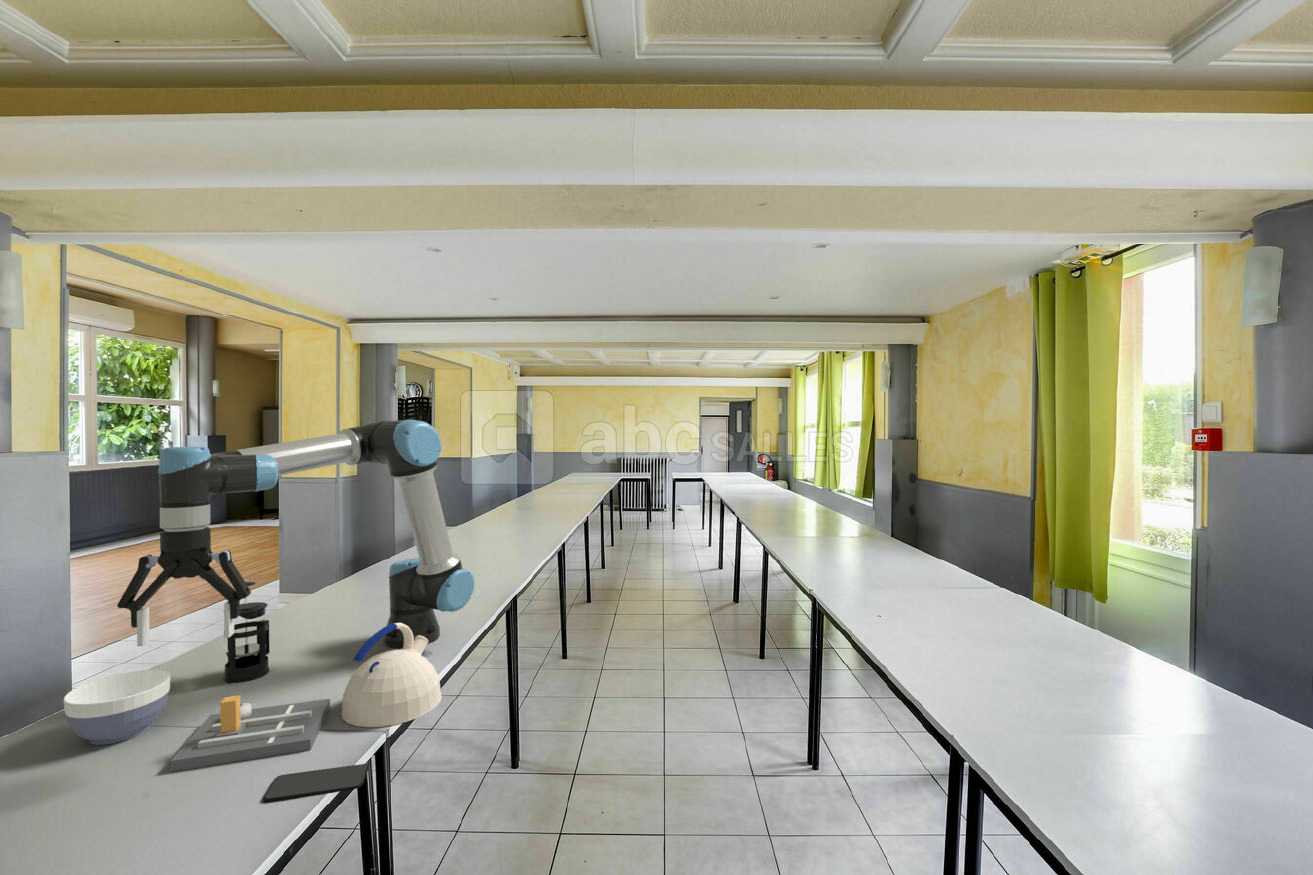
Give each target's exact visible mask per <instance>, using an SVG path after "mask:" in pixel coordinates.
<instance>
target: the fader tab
mask: <svg viewBox="0 0 1313 875" xmlns="http://www.w3.org/2000/svg"><path fill="white" fill-rule="evenodd" d="M219 703H220V704H219V706H220V709H219V710H220V713H219V714H220V716H221V730H220V731H219V732H218V733H217V735H216V736H215V737H216V738H219V737H226V736H232V735H239V734H241V733H242V732H243V731H244V729H245V728H246V722H242V723H241V711H240V704H241V695H240V694H239V695H233V696H225V697H224V698H223V699H222V700H221V701H220V702H219Z"/></svg>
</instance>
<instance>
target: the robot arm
mask: <svg viewBox="0 0 1313 875" xmlns="http://www.w3.org/2000/svg"><path fill="white" fill-rule="evenodd" d="M441 451H442V439H441V436H440V434H439V432H438V431H437V429H435V427H433V425H431V424H429V423H427V422H426V421H422V420H417V419H403V420H401V419H399V420H381V421H380V420H379V421H374V422H372V423H366V424H364V425H359V426H355V427H348V428H343V429H341V430H340V431H339V432H338V433H337V434H331V435H324V436H323V435H322V436H317V437H310V438H306V439H304V438H303V439H298V440H291V441H286V442H285V441H284V442H279V443H278V442H277V443H272V444H266V445H260V446H253V447H248V448H241V449H235V450H230V451H229V450H228V451H224V452H223V451H222V452H216V453H215V452H214V453H211V451H210V449H209V447H206V446H171V447H164V448H163V449H162V450H161V451H160V454H159V459H158V462H159V463H158V470H157V472H158V483H159V484H158V487H159V528H160V529H162V531H161V532H160V533H159V550H160V555H159V556H156V555H152V554H146V555H144V556H141V557H140V558H139V559H138V565H137V570H136V572H135V573H134V574H133V576H132V579H131V580H130V582H129V584H128V586H127V587H126V589H125V591H124V592H123V594H122V596H121V598H120V599H119V601H118V603H117V608H118V609H127V610H129V611H130V626H131V628H132V629H135V628H136V636H137V637H136V641H137V642H136V646H137V647H143V646H145V645H146V644H148V643H149V642H150V641H151V640H150V638H151V636H150V606H146V604H147V603H148V602H149V601H150V599H151V598H152V597H153V596H154V595H155V594H156V593H157V592H158V591H159V590H160V589H161V588H162V587H163V586H164V585H165V584H166V583H167V581H169V579H171V578H173V579H174V580H175V579H182V578H186V579H187V578H188V579H191V578H196V577H198V576H199V578H201V579H202V580H205V581H206V582H207V583H208V584H209V585H210V586H211V587H212V588H214V590H216V591H217V593H219V594H220V595H221V596H222V597H223V598H224V599H225V600H227V601H226V602H225V603H224V604H223V618H224V619H223V623H224V624H223V625H224V627H223V628H224V629H223V638H224V639H227V638H229V637H230V636H232V635H233V634H234V633H235V630H234V625H235V619H237V618H239V617H240V616H239V614H240V604H241V602H240V601H241V600H245V598H246V597H247V598H248V596H250V595H251V594H252V591H251V589H250V588H249V587H250V586H247V584H246V583H245V582H246V581H245V580H244V578H243V576H242V575H241V573H240V571H239V569H238V568H237V566H235V563H234V562H233V558H232V552H231V550H229V549H225V550H224V551H220V552H215V553H213V552H212V548H211V546H212V542H211V540H212V538H211V537H212V535H211V534H212V533H211V530H212V529H211V528H210V527H208V525H210V524H211V495H219V494H233V493H246V492H249V493H250V492H260V491H266V490H267V491H268V490H270V489H273V488H274V487H275V486H276V484H277V482H278V480H279V476H280V477H281V476H285V475H289V474H293V473H300V472H304V471H305V472H306V471H310V470H315V469H319V468H326V467H330V466H331V467H332V466H335V465H339V464H341V465H342V464H345V465H348V466H354V465H359V464H361V465H362V464H382V465H387V466H388V469H389V473H390V476H391V478H393V479H395V480H397V481H398V483H399V486H400V489H401V494H402V497H403V501H404V504H405V509H406V513H407V516H408V520H409V525H410V528H411V531H412V535H413V540H414V543H415V548H416V550H417V551H416V552H417V554H418V557H414V558H408V559H407V558H406V559H404V560H403V559H402V560H399V561H395V562H393V563H392V564H391V565H390V567H389V573H388V574H389V575H388V579H389V580H388V581H389V583H388V584H389V618H388V620H387V622H386V626H388V625H389V624H393V623H403V624H405V625H407V626H408V627H409V628H410V629H411V631H412V633H413V637H414V640H415V637H416V636H418V635H420V636H423V637H425V638H426V639H428V644H429V643H432V642H434V641H436V640H437V639H439V637H440V636H441V628H440V625H439V620H438V619H437V615H436V614H435V611H434V610H436V611H440V612H443V613H445V612H451V613H453V612H454V613H455V612H458V611H460V610H461V609H463V608H464V607H465V606H467V604H468V603H469V602H470V600H471V597H472V595H473V594H474V589H475V578H474V575H473V574H472V572H471V571H469V570H468V569H466V568H465V569H464V568H463V564H462V561H461V558H460V556H459V555H458V554H456V553H453V548H452V543H451V541H450V536H449V533H448V532H449V531H448V529H447V525H446V520H445V516H444V513H443V508H442V505H441V504H442V503H441V501H440V496H439V492H438V488H437V483H436V481H435V475H434V473H435V472H434V471H435V470H436V468H437V467H438V462H437V460H438V459H439V457H440V452H441ZM213 560H214V561H216V563H217V564H218V565H219V566H220V567H221V569H222V572H223V573H224V574H225V576H226V578H228V581H229V582H230V584H231V585H232V586H231V585H230V584H229V583H228V582H227V581H226V580H224V579H223V578H222V577H221V576H220V575H219V574H218V573H217V572H216V570H215V569H214V568H213V567H212V566H211V565H210V564H211V563H212V562H213ZM157 564H158V565H159V566H160V567H161V568H162V569H163V571H162V572H160V574H159V575H158V576H156V578H155V579H154V580H153V581H152V582H151V584H150V585H149V586H148V587H147V588H145V590H144V591H143V592H142V593H141V594H140V595H139V596H138V597H137V595H138V593H139V591H140V589H141V588H142V586H143V585H144V582H145V581H146V578H148V575H149V574H150V572H151V570H152V568H154V567H155V566H156V565H157ZM136 597H137V599H135V598H136ZM383 644H384V645H385V646H387V647H389V648H390V647H391V648H400V649H401V648H403V645H404V636H403V633H402V631H401V630H400V629H395V630H393V631H391V632H389V633H388V634H386V635H385V636H384V637H383Z"/></svg>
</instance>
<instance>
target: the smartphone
mask: <svg viewBox="0 0 1313 875" xmlns="http://www.w3.org/2000/svg"><path fill="white" fill-rule="evenodd" d="M369 769H370V766H369V764H368V763H362V764H355V765H354V764H352V765H345V766H340V767H331V768H324V769H323V768H322V769H318V770H316V769H315V770H308V771H301V772H300V771H299V772H293V773H284V774H280V775H278V776H276V777H275V778H274V779H273V781H272V783H271V784H270V786H269V788H268V789H267V791H266V793H265V794H264V796H263V798H262V800H263V802H264V803H265V804H268V803H276V802H281V801H282V802H283V801H288V800H289V801H290V800H296V799H300V798H306V797H312V796H318V795H319V796H320V795H325V793H326V794H332V793H339V792H343V791H344V792H345V791H351V790H356V789H359V788H361V787H362V786H363V785H364V783H365V780H366V778H367V775H368V771H369Z"/></svg>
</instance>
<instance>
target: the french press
mask: <svg viewBox="0 0 1313 875" xmlns="http://www.w3.org/2000/svg"><path fill="white" fill-rule="evenodd" d="M245 583H246V584H247V586H248V587H250V586H255V585H256V583H257V582H255V581H245ZM247 600H248V596H247V597H246V598H244V603H240V614H239V616H238V617H241V618H243V619H244V622H239V623H237V624H234V631H237V630H241V629H245V631H243V632H242V631H241V632H234V634H233V635H232V636H230V637H229V638H226V639H227V651H226V652H225V654H226V657H227V663H225V664H224V676H223V681H224V682H226V683H230V684H231V683H232V684H234V683H235V684H236V683H244V682H250V681H253V680H257V679H260V678H262V677H265V676H266V675H267V674H268V673H269V672H270V667H269V654H270V652H271V651H270V649H271V648H270V621H269V619H261V620H255V621H248V620H253V619H258V618H261V617H263V616H264V615H266V608H267V607H268V603H266V602H259V601H257V602H247ZM253 627H254V628H255V627H256V629H253V630H249V631H248V628H253ZM254 636H256V642H255V643H248V638H250V637H254ZM244 638H245V644H242V645H237V646H236V640H237V639H244Z"/></svg>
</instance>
